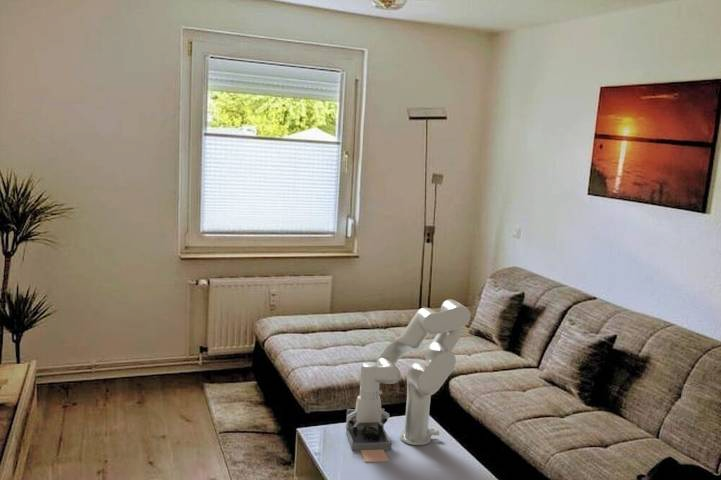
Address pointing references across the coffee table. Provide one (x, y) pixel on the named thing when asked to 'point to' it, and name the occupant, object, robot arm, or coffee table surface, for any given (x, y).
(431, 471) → the coffee table surface
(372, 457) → the mat
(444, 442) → the coffee table surface
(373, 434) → the tape measure
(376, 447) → the case
